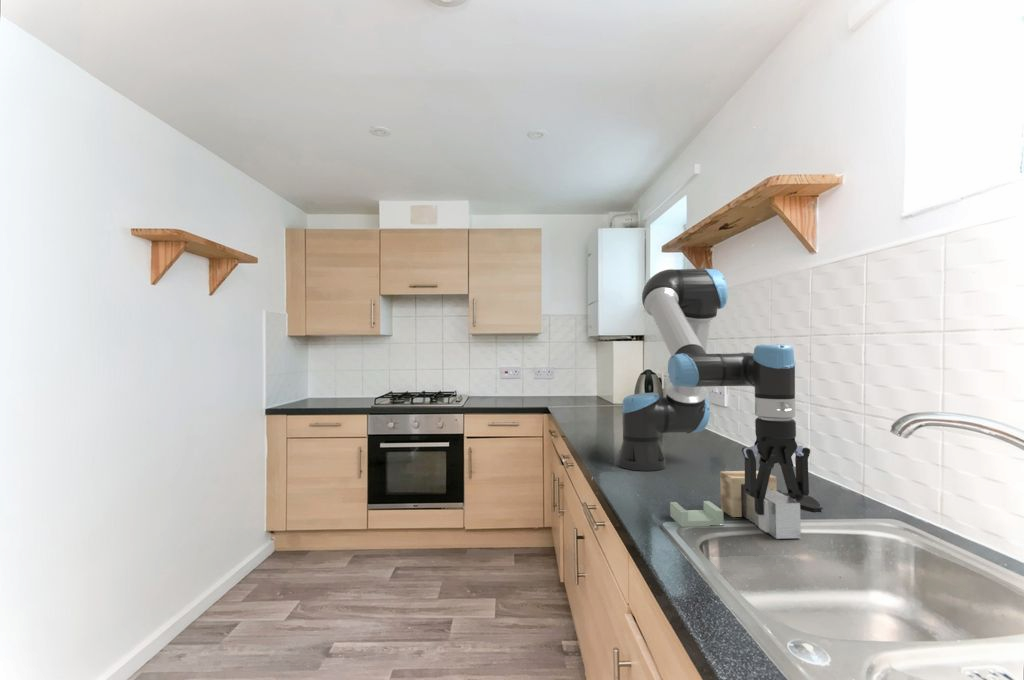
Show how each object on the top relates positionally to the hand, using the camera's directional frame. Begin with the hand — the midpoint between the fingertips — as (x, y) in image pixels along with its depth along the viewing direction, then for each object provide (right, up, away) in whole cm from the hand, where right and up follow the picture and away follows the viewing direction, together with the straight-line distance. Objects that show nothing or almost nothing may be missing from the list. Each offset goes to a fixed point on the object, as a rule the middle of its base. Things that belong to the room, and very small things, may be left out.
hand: (777, 529), depth 104 cm
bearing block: (0, -1, +12) cm, 12 cm away
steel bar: (0, 0, +4) cm, 5 cm away
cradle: (-14, -1, +7) cm, 16 cm away
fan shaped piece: (+15, -1, +19) cm, 25 cm away
